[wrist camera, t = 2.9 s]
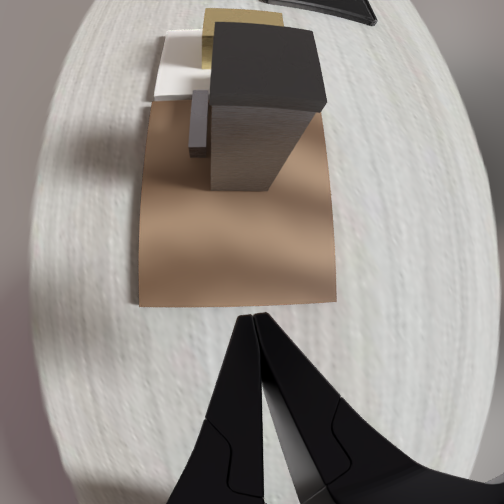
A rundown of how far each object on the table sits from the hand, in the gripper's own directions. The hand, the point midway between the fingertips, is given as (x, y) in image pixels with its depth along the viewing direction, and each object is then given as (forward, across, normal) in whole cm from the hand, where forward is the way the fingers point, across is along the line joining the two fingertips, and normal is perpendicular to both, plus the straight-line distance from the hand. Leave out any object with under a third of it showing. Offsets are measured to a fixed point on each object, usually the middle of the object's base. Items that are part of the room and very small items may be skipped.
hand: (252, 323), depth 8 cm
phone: (+34, -14, -17) cm, 40 cm away
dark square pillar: (+17, -1, -2) cm, 17 cm away
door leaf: (+15, -1, +3) cm, 15 cm away
